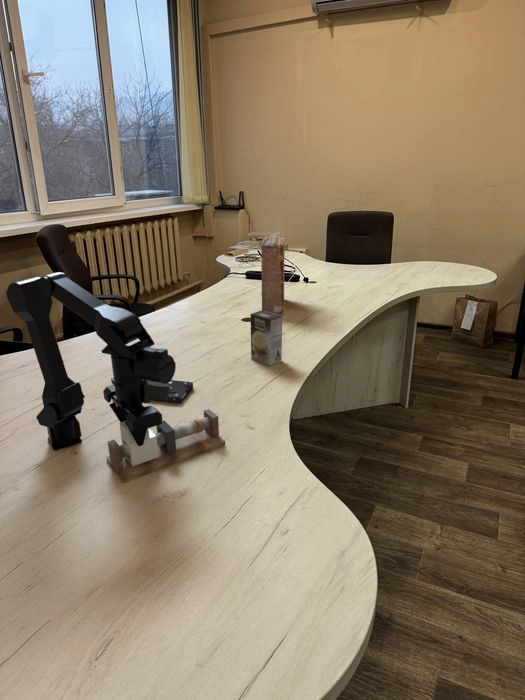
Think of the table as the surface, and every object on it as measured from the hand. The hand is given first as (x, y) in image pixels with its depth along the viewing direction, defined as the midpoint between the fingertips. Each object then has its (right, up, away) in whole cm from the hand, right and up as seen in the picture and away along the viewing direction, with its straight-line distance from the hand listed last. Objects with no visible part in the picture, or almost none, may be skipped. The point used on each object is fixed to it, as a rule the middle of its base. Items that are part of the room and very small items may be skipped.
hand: (135, 439), depth 107 cm
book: (+33, +39, +117) cm, 128 cm away
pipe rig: (+6, -4, +6) cm, 9 cm away
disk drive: (-1, +6, +35) cm, 35 cm away
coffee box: (+29, +16, +58) cm, 67 cm away
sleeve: (+1, -4, +2) cm, 5 cm away
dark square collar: (+6, -3, +5) cm, 8 cm away
